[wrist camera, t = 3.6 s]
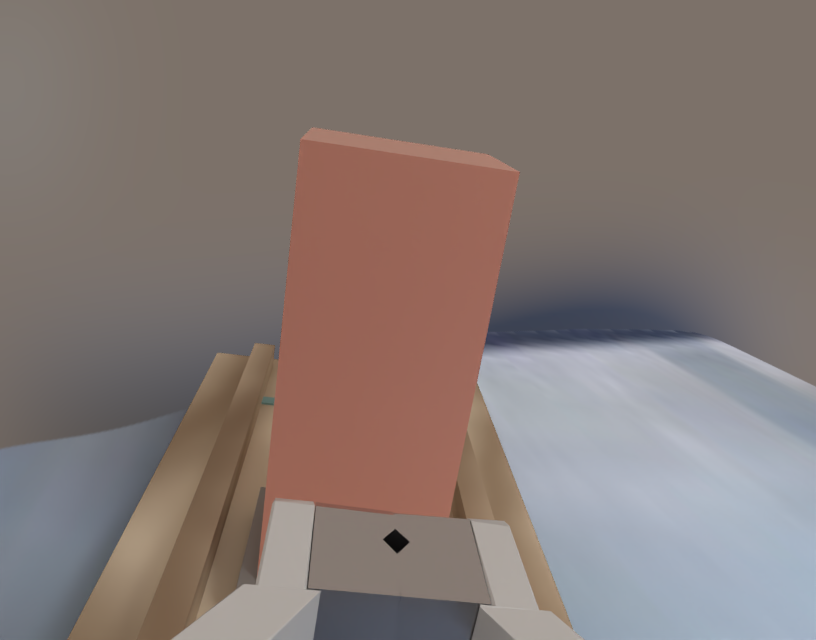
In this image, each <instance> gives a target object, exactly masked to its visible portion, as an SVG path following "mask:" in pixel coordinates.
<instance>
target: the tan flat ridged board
mask: <svg viewBox="0 0 816 640" xmlns="http://www.w3.org/2000/svg"><path fill="white" fill-rule="evenodd" d="M274 349H275V345H268V344H259V343H255V345H254V347H253V350H252V352H251V355H250V356H242V355H234V354H225V353H217V355H216V357H215V359H214V361H213V363H212V364H211V367H210V368H209V370H208V372H207V374H206V376H205V378H204V380H203V382H202V384H201V385H200V387H199V389H198V391H197V393H196V395H195V397H194V399H193V401H192V403H191V404H190V406H189V408H188V410H187V412H186V414H185V416H184V418H183V420H182V422H181V423H180V425H179V427H178V429H177V431H176V433H175V435H174V437H173V439H172V441H171V443H170V444H169V446H168V448H167V450H166V452H165V454H164V456H163V458H162V460H161V462H160V464H159V465H158V467H157V469H156V471H155V473H154V475H153V477H152V479H151V481H150V483H149V484H148V486H147V488H146V490H145V492H144V494H143V496H142V498H141V500H140V502H139V504H138V505H137V507H136V509H135V511H134V513H133V515H132V517H131V519H130V521H129V523H128V525H127V526H126V528H125V530H124V532H123V534H122V536H121V538H120V540H119V542H118V544H117V546H116V547H115V549H114V551H113V553H112V555H111V557H110V559H109V561H108V563H107V565H106V567H105V568H104V570H103V572H102V574H101V576H100V578H99V580H98V582H97V584H96V586H95V587H94V589H93V591H92V593H91V595H90V597H89V599H88V601H87V603H86V605H85V607H84V608H83V610H82V612H81V614H80V616H79V618H78V620H77V622H76V624H75V626H74V628H73V629H72V631H71V633H70V635H69V637H68V639H67V640H171V639H172V638H174V637H175V636H176V635H178V634H179V633H180V632H181V631H183V630H184V629H185V628H187V627H188V626H189V625H190V624H192V623H193V622H194V621H196V620H197V619H198V618H200V617H201V616H202V615H203V614H205V613H206V612H207V611H209V610H210V609H211V608H212V607H214V606H215V605H216V604H218V603H219V602H220V601H221V600H223V599H224V598H225V597H227V596H228V595H229V594H231V593H232V592H233V591H234V590H236V586H237V582H238V578H239V574H240V570H241V566H242V562H243V558H244V554H245V550H246V545H247V541H248V537H249V533H250V529H251V525H252V521H253V517H254V513H255V509H256V504H257V500H258V496H259V492H260V488H261V487H266V481H267V471H268V461H269V451H270V441H271V431H272V421H273V411H274V401H275V391H276V381H277V371H278V360H277V359H274ZM449 518H460V519H467V518H468V519H483V520H498V521H505V522H506V523H507V524H508V525H509V526H510V529H511V532H512V535H513V538H514V540H515V543H516V546H517V549H518V552H519V555H520V557H521V560H522V563H523V566H524V569H525V572H526V574H527V577H528V580H529V583H530V586H531V588H532V591H533V594H534V597H535V600H536V603H537V605H538V608H539V610H544V611H551V612H552V613H553V614H555V615H556V616H557V617H558V618H559V619H561V620H562V621H563V622H564V623H565V624H566V625H568V626H569V627H570V628H571V629H572V630H573V628H572V625H571V623H570V620H569V618H568V615H567V613H566V610H565V607H564V605H563V602H562V600H561V597H560V595H559V592H558V589H557V587H556V584H555V582H554V579H553V577H552V574H551V572H550V569H549V566H548V564H547V561H546V559H545V556H544V554H543V551H542V548H541V546H540V543H539V541H538V538H537V536H536V533H535V530H534V528H533V525H532V523H531V520H530V518H529V515H528V512H527V510H526V507H525V505H524V502H523V500H522V497H521V495H520V492H519V489H518V487H517V484H516V482H515V479H514V477H513V474H512V471H511V469H510V466H509V464H508V461H507V459H506V456H505V453H504V451H503V448H502V446H501V443H500V441H499V438H498V435H497V433H496V430H495V428H494V425H493V423H492V420H491V417H490V415H489V412H488V410H487V407H486V405H485V402H484V400H483V397H482V394H481V392H480V389H479V387H478V384H476V389H475V393H474V398H473V403H472V408H471V413H470V418H469V423H468V428H467V433H466V437H465V442H464V447H463V452H462V457H461V462H460V467H459V472H458V477H457V481H456V486H455V491H454V496H453V501H452V506H451V511H450V516H449Z"/></svg>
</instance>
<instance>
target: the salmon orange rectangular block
mask: <svg viewBox="0 0 816 640" xmlns="http://www.w3.org/2000/svg"><path fill="white" fill-rule="evenodd" d="M519 174H520V172H519V171H517V170H515V169H513V168H511V167H510V166H508V165H506V164H504V163H503V162H501V161H499V160H497V159H495V158H494V157H492V156H490V155H489V154H482V153H476V152H469V151H463V150H456V149H450V148H443V147H437V146H430V145H424V144H417V143H411V142H404V141H398V140H392V139H384V138H378V137H372V136H366V135H358V134H352V133H346V132H340V131H333V130H327V129H320V128H313V127H312V128H311V129H310V130H309V131H308V132H307V133H306V134H305V135H304V136H303V137H302V138H301V140H300V150H299V160H298V170H297V180H296V190H295V200H294V210H293V220H292V230H291V241H290V250H289V260H288V270H287V280H286V290H285V301H284V311H283V321H282V331H281V340H280V351H279V360H278V371H277V381H276V391H275V401H274V411H273V421H272V431H271V441H270V451H269V461H268V471H267V481H266V487H261V488H260V492H259V496H258V500H257V504H256V509H255V513H254V517H253V521H252V525H251V529H250V533H249V537H248V541H247V545H246V550H245V554H244V558H243V562H242V566H241V570H240V574H239V578H238V582H237V586H236V589H237V588H238V587H240V586H241V585H242V584H251V585H255V584H256V579H257V575H258V570H259V565H260V560H261V555H262V551H263V546H264V541H265V536H266V531H267V527H268V522H269V517H270V512H271V508H272V503H273V501H274V500H275V498H283V499H293V500H303V501H313V502H314V504H315V505H316V502H319V503H327V504H335V505H343V506H351V507H359V508H367V509H375V510H383V511H391V512H393V513H401V514H413V515H425V516H436V517H448V518H449V516H450V511H451V506H452V501H453V496H454V491H455V486H456V481H457V477H458V472H459V467H460V462H461V457H462V452H463V447H464V442H465V437H466V433H467V428H468V423H469V418H470V413H471V408H472V403H473V398H474V393H475V389H476V384H477V379H478V374H479V369H480V364H481V359H482V354H483V349H484V345H485V340H486V335H487V330H488V325H489V320H490V315H491V310H492V305H493V301H494V295H495V290H496V286H497V281H498V275H499V271H500V266H501V261H502V256H503V252H504V247H505V242H506V237H507V232H508V227H509V222H510V217H511V212H512V207H513V203H514V197H515V193H516V188H517V183H518V178H519Z"/></svg>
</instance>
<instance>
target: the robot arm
mask: <svg viewBox="0 0 816 640" xmlns="http://www.w3.org/2000/svg"><path fill="white" fill-rule="evenodd" d="M171 640H584V639H583V638H582V637H581V636H579V635H578V634H577V633H576V632H575V631H573V630H572V629H571V628H570V627H569V626H568V625H566V624H565V623H564V622H563V621H562V620H561V619H559V618H558V617H557V616H556V615H555V614H553V613H552V612H551V611H544V610H539V608H538V605H537V603H536V600H535V597H534V594H533V591H532V588H531V586H530V583H529V580H528V577H527V574H526V572H525V569H524V566H523V563H522V560H521V557H520V555H519V552H518V549H517V546H516V543H515V540H514V538H513V535H512V532H511V529H510V526H509V525H508V524H507V523H506V522H505V521H498V520H483V519H468V518H467V519H460V518H448V517H436V516H425V515H413V514H401V513H393V512H391V511H383V510H375V509H367V508H359V507H351V506H343V505H335V504H327V503H319V502H316V505H315V504H314V502H313V501H303V500H293V499H283V498H275V500H274V501H273V503H272V508H271V512H270V517H269V522H268V527H267V531H266V536H265V541H264V546H263V551H262V555H261V560H260V565H259V570H258V575H257V579H256V584H255V585H251V584H242V585H241V586H240V587H238V588H237V589H236V590H234V591H233V592H232V593H231V594H229V595H228V596H227V597H225V598H224V599H223V600H221V601H220V602H219V603H218V604H216V605H215V606H214V607H212V608H211V609H210V610H209V611H207V612H206V613H205V614H203V615H202V616H201V617H200V618H198V619H197V620H196V621H194V622H193V623H192V624H190V625H189V626H188V627H187V628H185V629H184V630H183V631H181V632H180V633H179V634H178V635H176V636H175V637H174V638H172V639H171Z"/></svg>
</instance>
